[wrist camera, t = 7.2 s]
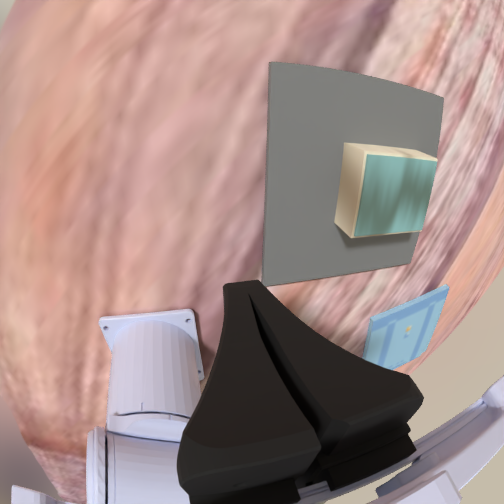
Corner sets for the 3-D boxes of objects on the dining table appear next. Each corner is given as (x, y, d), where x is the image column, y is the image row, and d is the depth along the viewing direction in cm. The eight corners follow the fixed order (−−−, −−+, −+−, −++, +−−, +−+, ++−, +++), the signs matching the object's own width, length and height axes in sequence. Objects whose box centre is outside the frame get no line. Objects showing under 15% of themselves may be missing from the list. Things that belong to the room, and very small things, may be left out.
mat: (407, 260, 26) (410, 263, 26) (261, 282, 23) (263, 286, 23) (439, 96, 18) (443, 97, 18) (268, 62, 15) (271, 61, 14)
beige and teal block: (334, 222, 21) (403, 217, 23) (352, 239, 19) (422, 232, 20) (344, 142, 18) (416, 149, 20) (366, 151, 16) (439, 159, 17)
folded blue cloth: (420, 348, 38) (424, 353, 37) (355, 379, 37) (359, 385, 36) (443, 281, 31) (449, 287, 30) (368, 314, 30) (373, 321, 29)
